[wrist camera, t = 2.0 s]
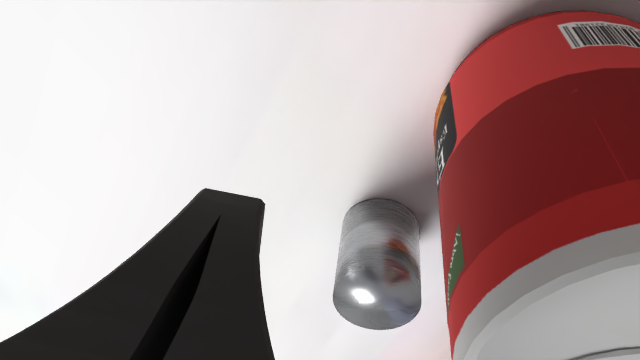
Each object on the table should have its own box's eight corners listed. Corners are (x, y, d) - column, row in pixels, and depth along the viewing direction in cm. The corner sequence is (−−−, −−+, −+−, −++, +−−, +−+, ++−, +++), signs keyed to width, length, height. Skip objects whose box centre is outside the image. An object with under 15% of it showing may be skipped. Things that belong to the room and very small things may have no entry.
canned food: (391, 82, 19) (382, 337, 11) (629, -54, 16) (904, 156, 7) (491, 227, 23) (546, 514, 14) (706, 139, 19) (962, 446, 10)
